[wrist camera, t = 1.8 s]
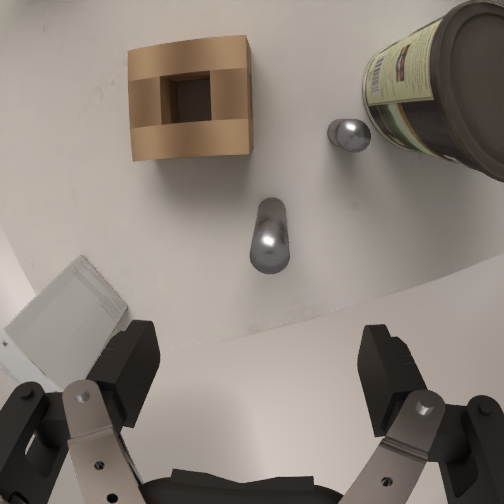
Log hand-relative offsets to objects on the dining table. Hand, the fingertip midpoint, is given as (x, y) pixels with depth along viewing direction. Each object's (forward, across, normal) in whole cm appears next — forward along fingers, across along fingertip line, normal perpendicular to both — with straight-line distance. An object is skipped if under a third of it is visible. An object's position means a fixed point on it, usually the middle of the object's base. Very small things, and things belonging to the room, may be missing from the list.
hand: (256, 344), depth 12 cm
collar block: (+18, +6, -10) cm, 22 cm away
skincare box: (+19, +20, +9) cm, 29 cm away
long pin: (+18, 0, 0) cm, 19 cm away
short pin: (+18, -6, -7) cm, 21 cm away
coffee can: (+18, -13, -11) cm, 25 cm away
